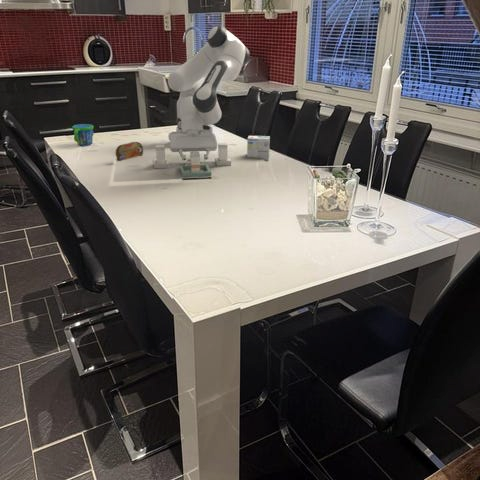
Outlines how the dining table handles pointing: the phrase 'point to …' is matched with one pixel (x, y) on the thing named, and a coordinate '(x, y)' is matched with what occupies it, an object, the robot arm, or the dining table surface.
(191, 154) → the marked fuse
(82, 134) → the snack cup
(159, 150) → the block
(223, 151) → the block
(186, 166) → the tray
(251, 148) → the light bulb box
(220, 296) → the dining table surface
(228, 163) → the board
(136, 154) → the tin
